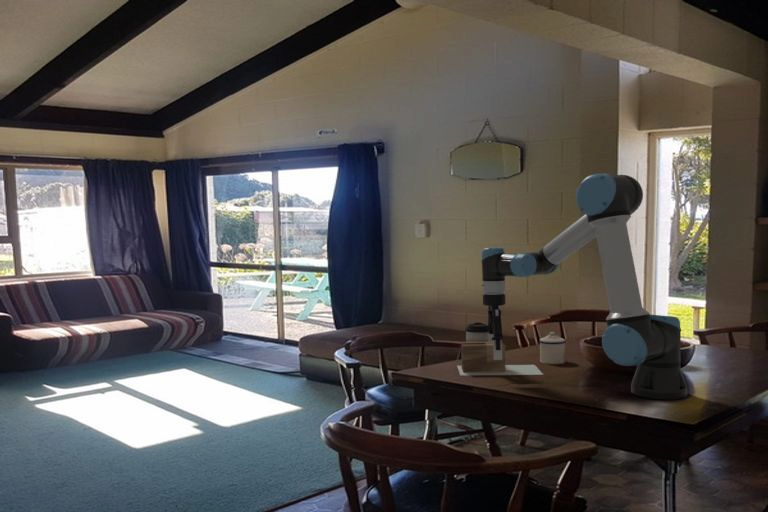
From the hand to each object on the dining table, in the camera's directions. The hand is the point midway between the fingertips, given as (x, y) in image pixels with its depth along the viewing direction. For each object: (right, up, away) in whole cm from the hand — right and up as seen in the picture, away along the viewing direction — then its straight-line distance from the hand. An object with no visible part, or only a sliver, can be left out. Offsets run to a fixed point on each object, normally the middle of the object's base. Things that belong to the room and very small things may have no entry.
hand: (495, 356), depth 227 cm
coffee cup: (-4, -6, +15) cm, 16 cm away
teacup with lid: (+22, -5, +15) cm, 27 cm away
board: (+1, -6, 0) cm, 6 cm away
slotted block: (-4, -5, +1) cm, 6 cm away
